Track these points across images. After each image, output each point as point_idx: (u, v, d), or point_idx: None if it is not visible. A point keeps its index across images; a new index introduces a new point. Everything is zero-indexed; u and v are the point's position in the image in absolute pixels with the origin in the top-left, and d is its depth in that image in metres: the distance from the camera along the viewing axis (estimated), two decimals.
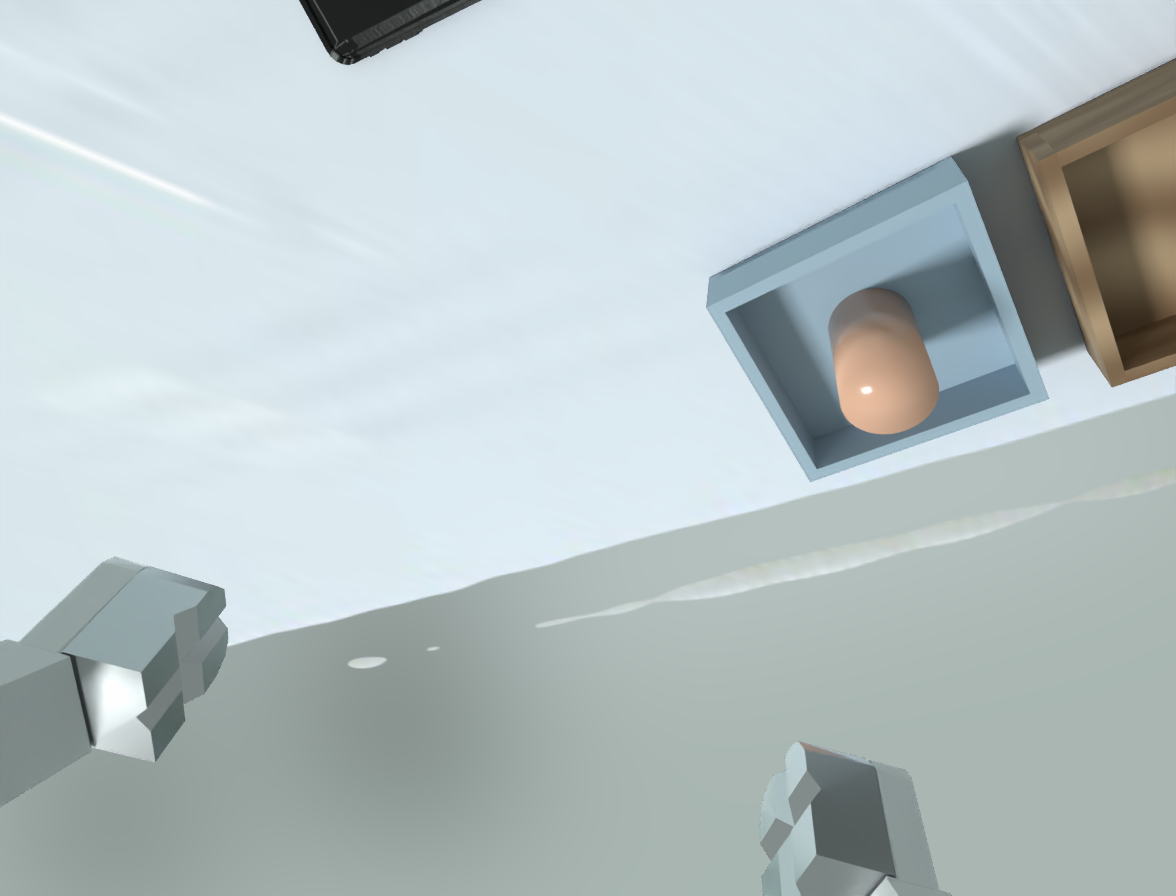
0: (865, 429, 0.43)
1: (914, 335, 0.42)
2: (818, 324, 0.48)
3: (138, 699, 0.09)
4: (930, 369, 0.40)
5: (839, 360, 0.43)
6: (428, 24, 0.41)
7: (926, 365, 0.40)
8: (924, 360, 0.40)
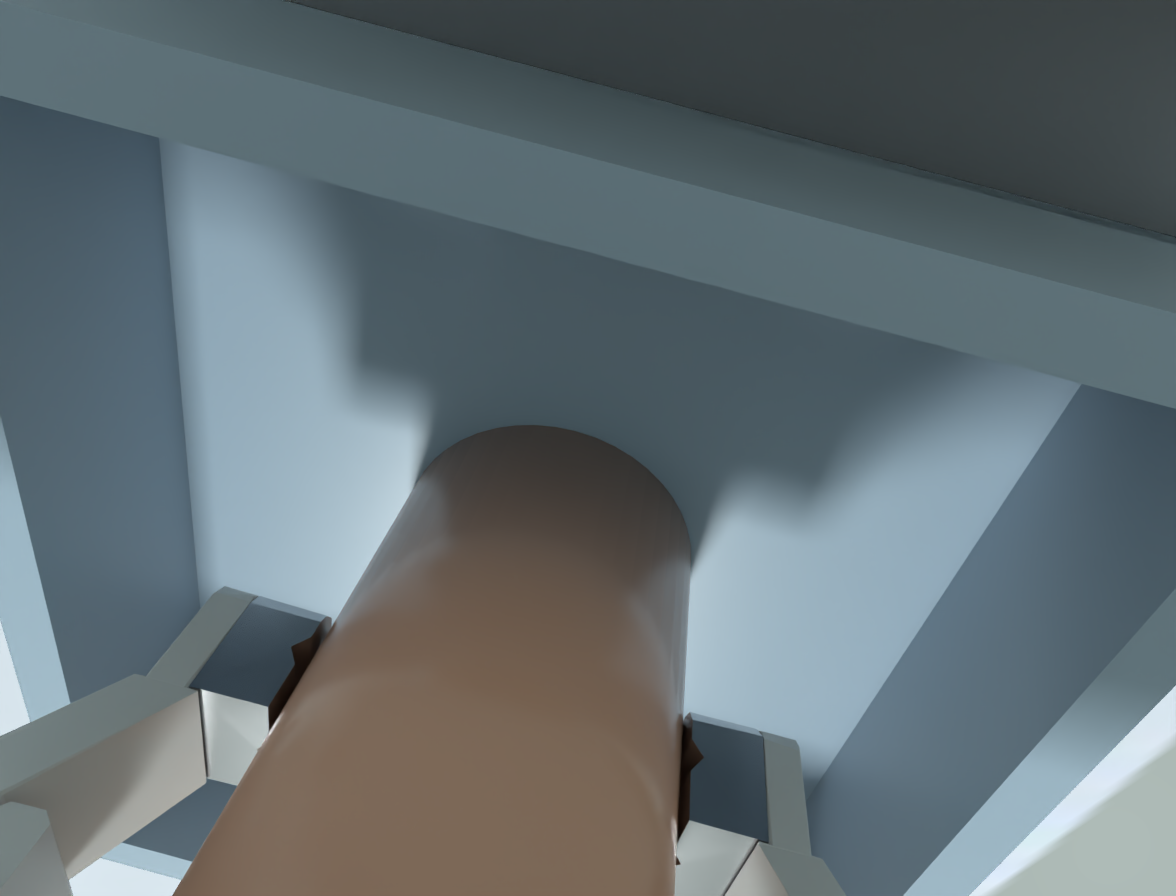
0: None
1: (397, 663, 0.08)
2: None
3: (260, 733, 0.09)
4: None
5: None
6: None
7: None
8: None
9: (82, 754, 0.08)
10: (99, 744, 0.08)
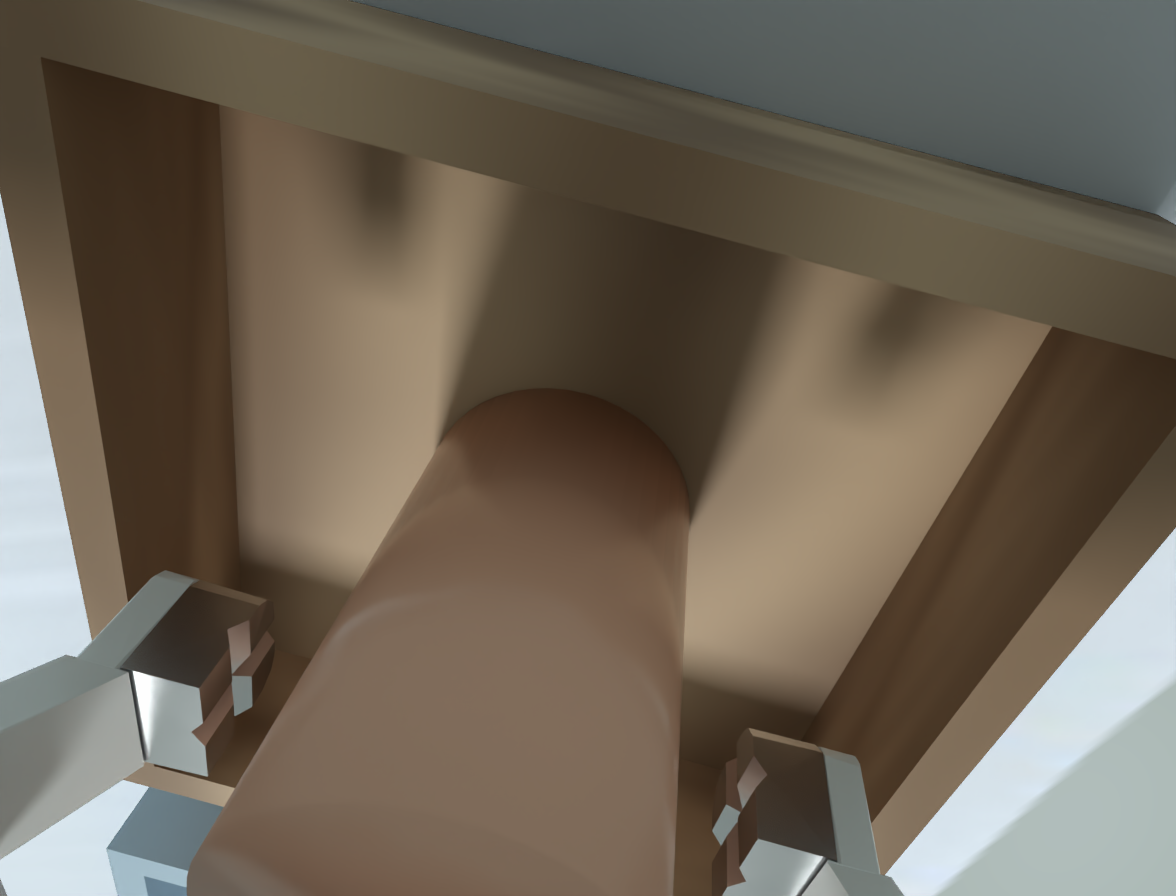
0: None
1: (438, 572, 0.09)
2: None
3: (193, 716, 0.09)
4: (387, 799, 0.07)
5: None
6: None
7: (349, 796, 0.07)
8: (365, 751, 0.07)
9: (5, 733, 0.08)
10: (23, 724, 0.08)
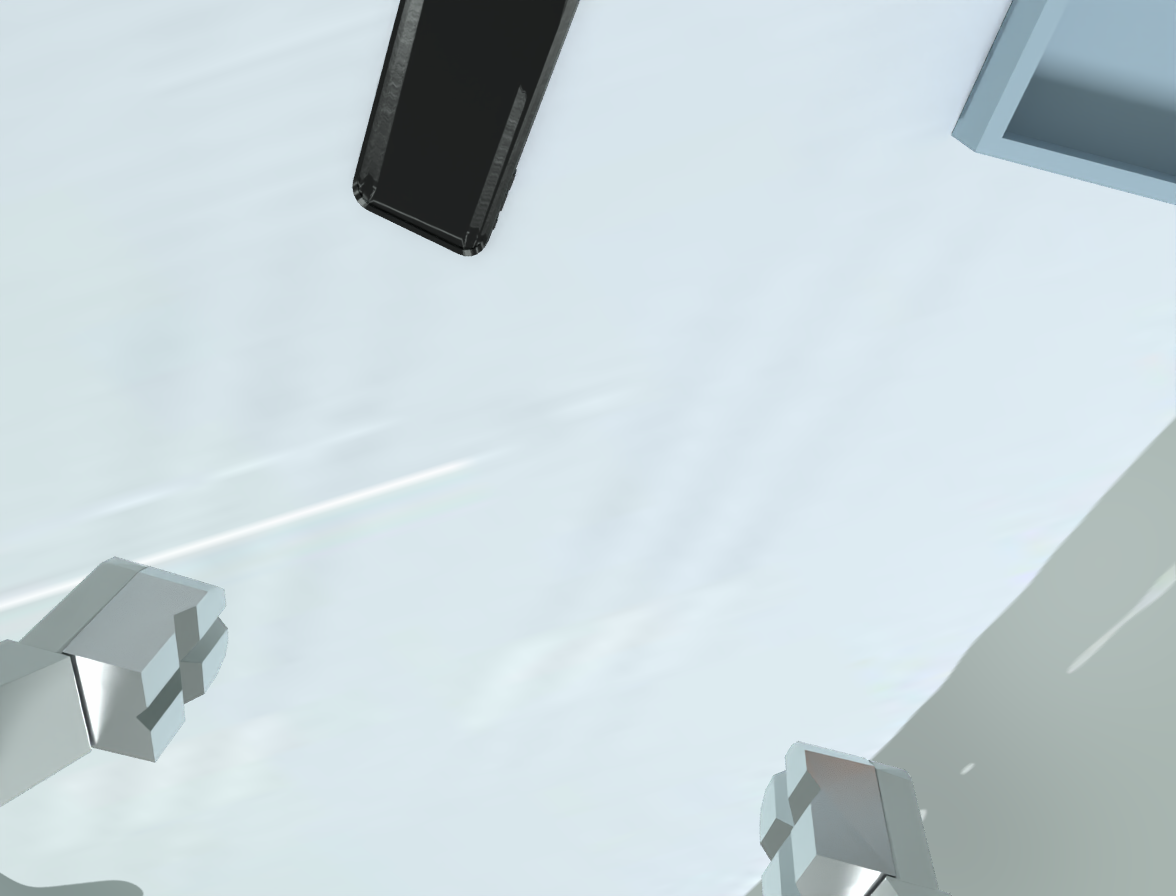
0: None
1: None
2: (1131, 63, 0.34)
3: (137, 699, 0.09)
4: None
5: None
6: (516, 158, 0.40)
7: None
8: None
9: None
10: None
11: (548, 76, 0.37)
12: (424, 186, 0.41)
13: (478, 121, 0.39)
